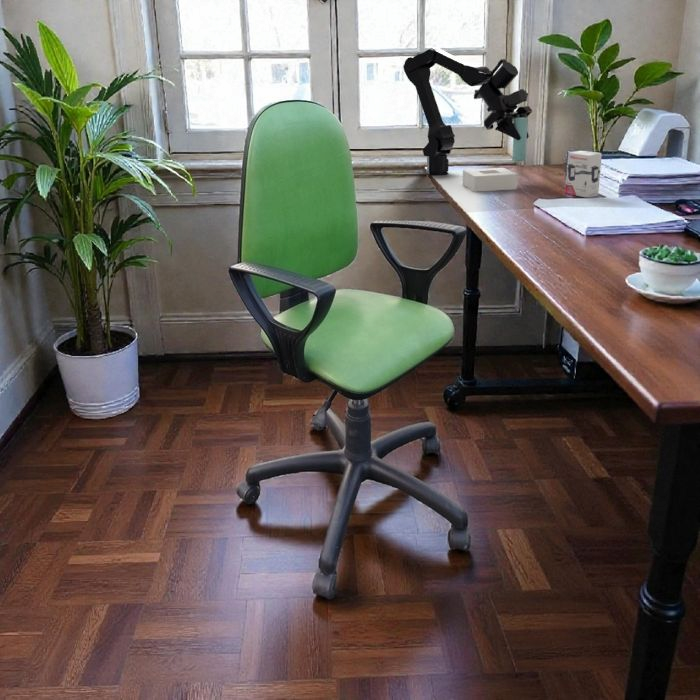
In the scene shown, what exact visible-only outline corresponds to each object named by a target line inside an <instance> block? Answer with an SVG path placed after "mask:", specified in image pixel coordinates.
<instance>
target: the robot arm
mask: <svg viewBox="0 0 700 700" xmlns="http://www.w3.org/2000/svg"><path fill="white" fill-rule="evenodd" d="M435 65H438V66H440V67H443V68H444V69H446V70H449V71H451V72H453V73H454V74H456V75H458V77H460V79H461V81H462V82H464V83H465V84H466V85H468V86H470V87H477V86H480V87H479V88H478V89H474V94H473V99H474V100H477V99H479V100H480V99H482V100H483V102H484V103H485V104H486V106H487V108H486V111H487V112H488V113H490V114H489V115H487V117H486V118H485V119H484V120H483V126H484V128H485V129H486V130H487V131H488V130H493V129H494V124H496V127H495V129H494V130H495V131H498V132H500V133H503V134H504V135H507V136H509V137H511V138H512V139H513V138H514V139H516V140H520V139H521V137H520V135H519V133H518V131H517V130H516V128H515V126H514V118H528V117H529V116H530V115H531V114H532V113H533V109H532V108H531V107H530V106H529V105H526V106H518V105H520V104H522V103H524V102H527V101H528V97H529V93H528V92H527V90H525V89H524V88H521V89H519V90H516V91H514V92H512V93H510V94H504V93H503V92H502V91H501V89H506V88H507V87H508V86H509V85H510V84H511V83H512V81H514V79H515V78H516V77H517V76H518V74H519V70H518V69H517V67H516V66H515V65H513V64H512V63H511V62H509V61H507V60H506V59H505V58H501V59H500V60H499V61H498V63H497V64H496V66H495V67H494V68H493V69H492V70H490V69H489V68H488V66H485V65H481V64H477V63H470V62H466V61H465V60H463V59H461V58H459V57H456V56H454V55H452V54H451V53H449V52H447V51H444V50H443V49H442V48H440V47H431V48H430V47H429V48H428V49H427V50H425V51H424V52H421V53H418V54H416V55H413V56H411V57H408V58H406V59H405V61H404V64H403V67H402V68H403V71H404V74H405V75H406V77H407V79H408V81H409V82H410V83H411V84H413V86H414V88H415V90H416V93H417V95H418V98H419V102H420V106H421V107H422V111H423V114H424V116H425V120H426V122H427V125H428V131H427V139H428V140H427V141H428V143H426V145H425V146H424V148H423V149H422V153H423V157H426V170H425V173H426V174H427V175H429V176H433V174H437V175H438V176H439V175H447V174H449V161H450V160H449V158H448V155H450V154H451V152H452V148H453V147H454V145H455V137H456V135H455V133H454V132H453V127H452V125H451V124H448V125H446V123H445V122H444V121H443V119H442V115H441V112H440V109H439V106H438V103H437V100H436V97H435V94H434V91H433V89H432V85H431V82H430V79H431V73H432V72H431V68H432V67H434V66H435ZM529 137H530V136H529V131H527V139H528V138H529Z"/></svg>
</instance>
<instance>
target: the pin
mask: <svg viewBox="0 0 700 700" xmlns="http://www.w3.org/2000/svg"><path fill="white" fill-rule="evenodd" d="M528 120H529V119H528V117H527V118H514V126H515V128H516V130H517V131H518V133H519V135H520V137H521V139H520V140H516V139H514V138H512V153H511V154H512V155H511V156H512V158H511V159H512V162H524V161H526V157H527V156H526V155H527V141H528V138H527V132H528Z"/></svg>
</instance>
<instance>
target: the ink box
mask: <svg viewBox="0 0 700 700" xmlns="http://www.w3.org/2000/svg"><path fill="white" fill-rule="evenodd" d="M602 156H603V154H602V153H601V152H598V151H597V152H595V151H589V150H577V151H571V152H570V151H569V152H568V154H567V165H566V166H567V167H566V175H565V176H566V177H565V179H566V180H565V191H564V193H565V194H567V195H571V196H572V195H573V196H577V197H583V198H591V197H597V196H599V191H600V189H599V188H600V178H601V168H602V167H601V166H602V158H603V157H602Z"/></svg>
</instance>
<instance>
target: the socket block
mask: <svg viewBox="0 0 700 700" xmlns="http://www.w3.org/2000/svg"><path fill="white" fill-rule="evenodd" d="M462 185H463V186H464V187H465V188H468V189H469V190H471V191H473V192H475V193H477V192H492V191H493V192H494V191H507V190H510V191H512V190H517V188H518V187H517V186H518V173H515V172H513V171H512V170H509V169H507V168H505V167H493V168H491V167H490V168H473V169H462Z"/></svg>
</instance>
